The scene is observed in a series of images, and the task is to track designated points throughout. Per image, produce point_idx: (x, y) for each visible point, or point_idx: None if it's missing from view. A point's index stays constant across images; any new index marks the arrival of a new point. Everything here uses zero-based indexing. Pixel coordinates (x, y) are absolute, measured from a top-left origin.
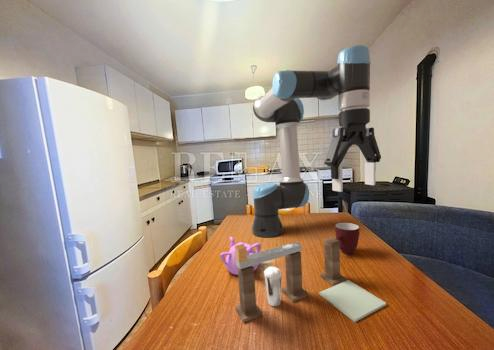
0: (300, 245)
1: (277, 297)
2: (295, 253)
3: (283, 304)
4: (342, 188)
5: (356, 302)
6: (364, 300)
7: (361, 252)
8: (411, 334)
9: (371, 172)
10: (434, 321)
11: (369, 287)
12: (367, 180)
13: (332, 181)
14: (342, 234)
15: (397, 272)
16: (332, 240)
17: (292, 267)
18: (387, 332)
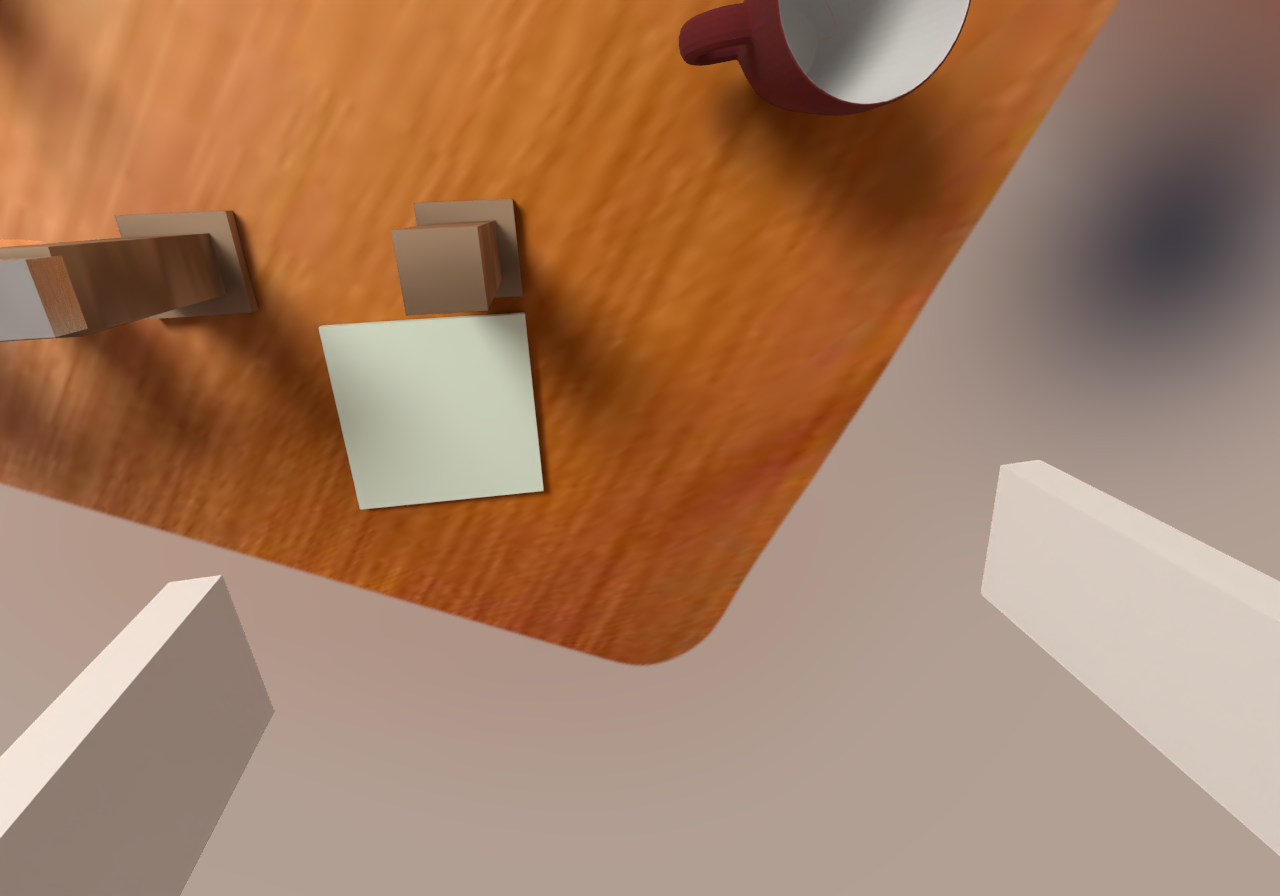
0: (46, 336)
1: None
2: None
3: None
4: (250, 750)
5: (435, 447)
6: (477, 450)
7: None
8: (497, 594)
9: (1167, 710)
10: (612, 585)
11: (580, 385)
12: (1042, 542)
13: (53, 712)
14: (761, 41)
15: (794, 359)
16: (441, 281)
17: None
18: (435, 568)
